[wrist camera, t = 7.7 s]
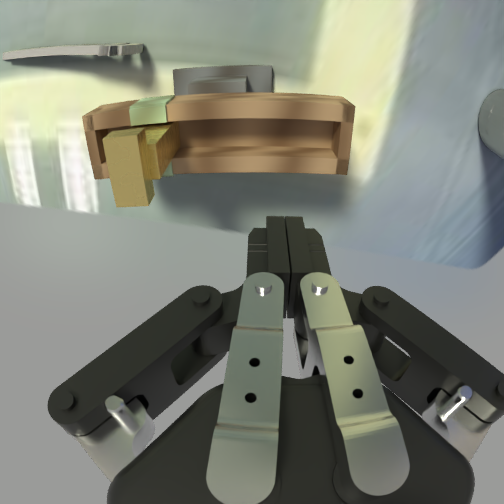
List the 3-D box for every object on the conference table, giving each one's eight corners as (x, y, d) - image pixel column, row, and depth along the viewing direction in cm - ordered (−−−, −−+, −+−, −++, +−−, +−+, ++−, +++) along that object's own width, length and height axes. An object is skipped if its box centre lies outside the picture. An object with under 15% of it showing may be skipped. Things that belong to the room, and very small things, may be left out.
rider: (177, 104, 24) (146, 134, 18) (181, 157, 27) (157, 205, 21) (137, 108, 24) (94, 140, 18) (144, 160, 27) (109, 207, 21)
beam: (329, 68, 29) (358, 82, 21) (322, 154, 35) (344, 196, 27) (122, 76, 29) (77, 95, 21) (132, 157, 35) (98, 199, 27)
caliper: (145, 42, 27) (124, 45, 22) (144, 52, 28) (122, 56, 23) (5, 51, 25) (-27, 60, 20) (4, 59, 25) (-27, 69, 20)
